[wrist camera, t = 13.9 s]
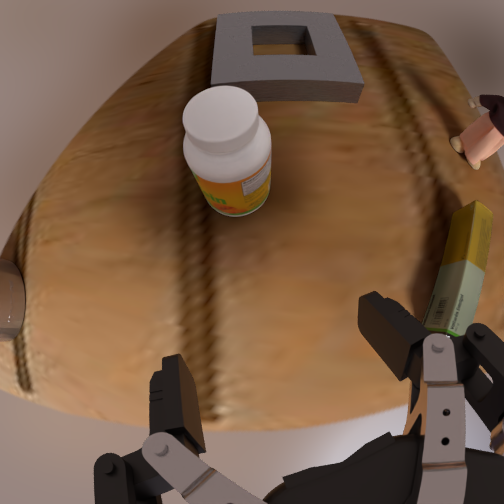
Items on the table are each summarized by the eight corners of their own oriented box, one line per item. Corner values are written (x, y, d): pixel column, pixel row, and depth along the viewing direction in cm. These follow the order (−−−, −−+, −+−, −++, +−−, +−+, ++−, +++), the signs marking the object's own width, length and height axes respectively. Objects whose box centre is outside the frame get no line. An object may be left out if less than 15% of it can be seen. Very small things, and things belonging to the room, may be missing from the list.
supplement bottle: (191, 189, 23) (149, 118, 13) (237, 148, 24) (222, 65, 14) (236, 232, 22) (214, 173, 12) (284, 186, 23) (293, 108, 13)
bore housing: (215, 104, 25) (210, 84, 22) (220, 31, 28) (217, 14, 25) (357, 103, 24) (364, 83, 21) (329, 30, 27) (332, 13, 24)
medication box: (437, 345, 19) (465, 349, 15) (416, 334, 20) (443, 338, 16) (470, 224, 21) (495, 211, 17) (451, 211, 22) (475, 196, 18)
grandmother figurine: (440, 145, 23) (504, 69, 10) (446, 124, 23) (501, 51, 11) (490, 188, 22) (563, 134, 9) (493, 164, 22) (557, 110, 10)
